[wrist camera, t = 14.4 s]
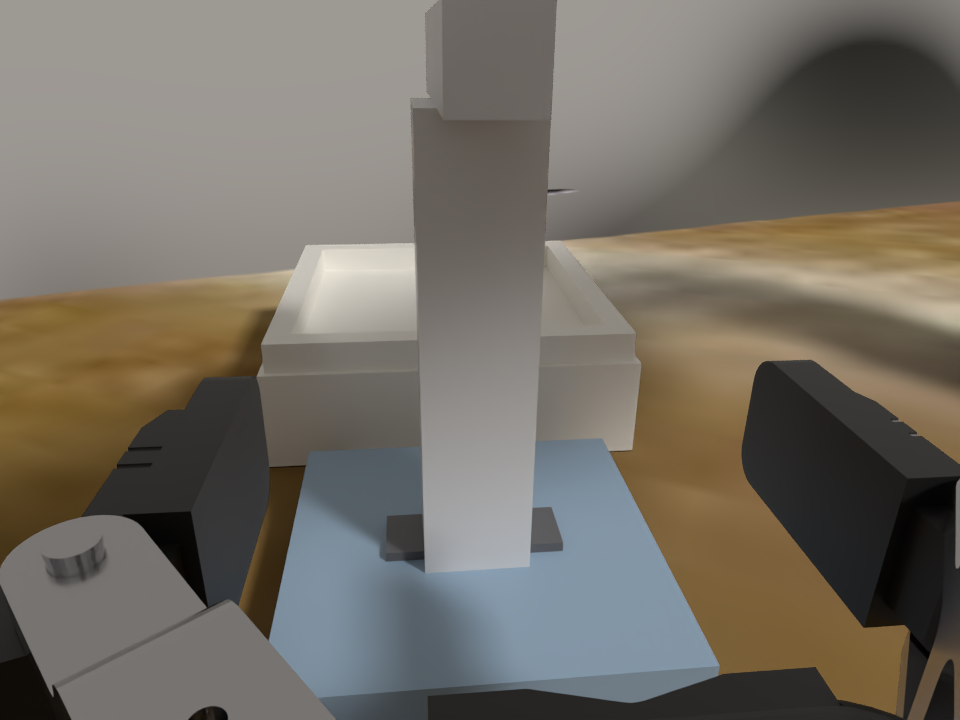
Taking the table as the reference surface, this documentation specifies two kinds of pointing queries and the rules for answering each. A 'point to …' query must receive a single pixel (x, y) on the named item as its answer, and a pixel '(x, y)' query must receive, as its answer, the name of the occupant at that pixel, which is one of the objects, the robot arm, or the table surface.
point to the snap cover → (479, 446)
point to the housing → (394, 357)
